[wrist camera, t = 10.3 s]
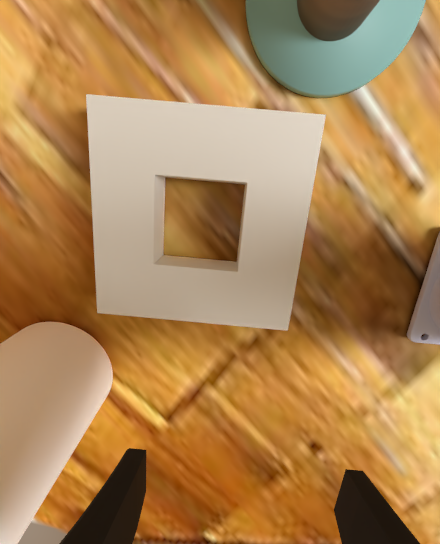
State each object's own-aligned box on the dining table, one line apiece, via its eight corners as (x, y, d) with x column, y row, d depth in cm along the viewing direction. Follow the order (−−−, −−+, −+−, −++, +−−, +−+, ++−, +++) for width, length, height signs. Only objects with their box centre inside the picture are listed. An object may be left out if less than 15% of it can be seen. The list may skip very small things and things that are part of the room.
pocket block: (310, 127, 16) (325, 114, 13) (280, 313, 19) (287, 330, 17) (108, 109, 16) (86, 94, 13) (113, 298, 19) (97, 312, 17)
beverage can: (18, 303, 20) (-285, 461, 8) (126, 335, 20) (-16, 527, 8) (9, 390, 22) (-238, 611, 10) (106, 417, 22) (-27, 658, 11)
